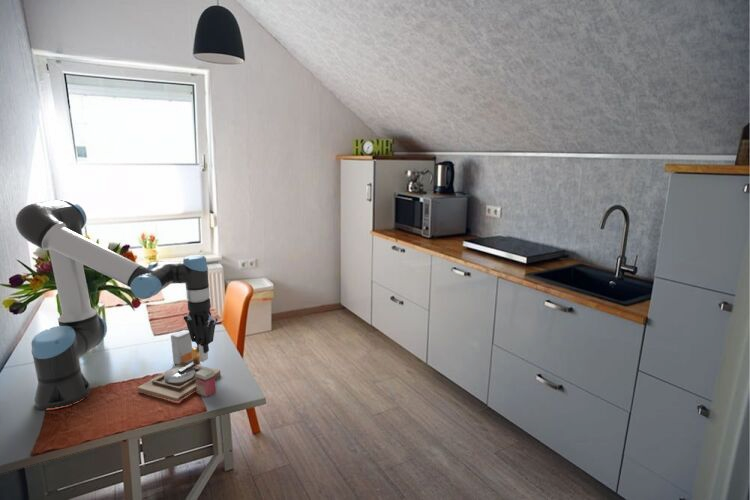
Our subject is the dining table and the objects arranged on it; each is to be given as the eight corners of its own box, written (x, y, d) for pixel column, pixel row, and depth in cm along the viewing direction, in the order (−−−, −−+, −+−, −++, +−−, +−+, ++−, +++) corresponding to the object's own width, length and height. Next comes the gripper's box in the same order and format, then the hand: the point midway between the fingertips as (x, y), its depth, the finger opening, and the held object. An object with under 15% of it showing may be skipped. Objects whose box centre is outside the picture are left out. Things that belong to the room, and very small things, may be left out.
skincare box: (180, 366, 167) (177, 337, 165) (173, 363, 170) (170, 334, 167) (193, 359, 172) (191, 331, 170) (187, 357, 175) (184, 329, 172)
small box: (196, 393, 149) (194, 372, 147) (206, 387, 152) (204, 367, 151) (206, 397, 146) (204, 376, 144) (216, 391, 150) (214, 370, 148)
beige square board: (177, 404, 143) (176, 395, 142) (138, 392, 149) (137, 384, 149) (220, 375, 161) (220, 368, 160) (183, 366, 167) (182, 359, 167)
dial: (179, 387, 148) (177, 366, 146) (158, 382, 152) (155, 361, 150) (210, 369, 161) (208, 349, 159) (189, 364, 165) (187, 344, 163)
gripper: (221, 297, 155) (225, 358, 161) (190, 293, 159) (196, 353, 165) (207, 304, 148) (212, 367, 154) (175, 300, 152) (182, 362, 158)
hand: (204, 360), depth 159 cm, fingers closed
